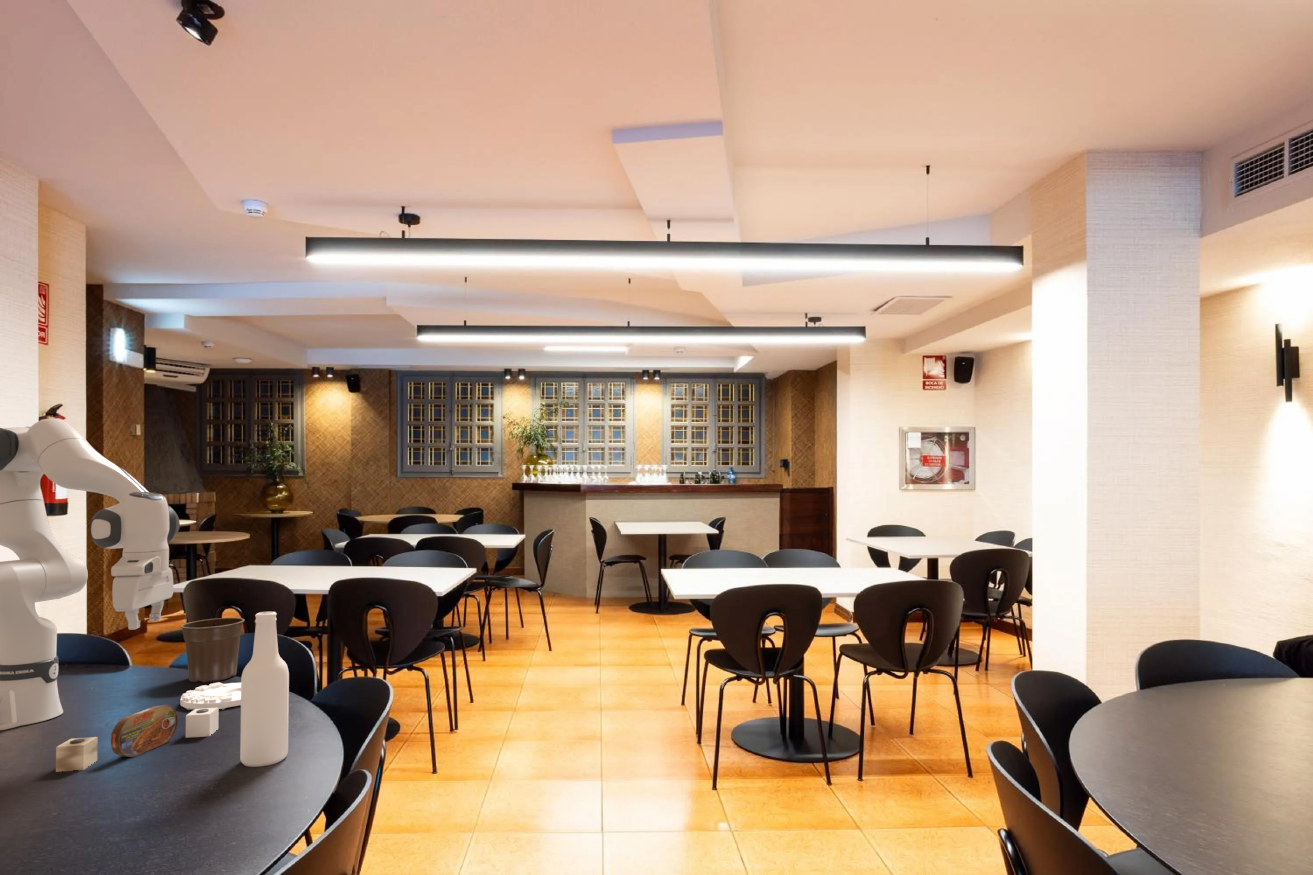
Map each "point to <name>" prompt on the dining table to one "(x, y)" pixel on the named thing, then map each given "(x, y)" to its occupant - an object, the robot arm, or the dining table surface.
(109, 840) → the dining table surface
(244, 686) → the white bottle
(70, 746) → the birch block
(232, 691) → the white round plaque
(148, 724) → the tin
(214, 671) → the plant pot
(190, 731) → the white block
